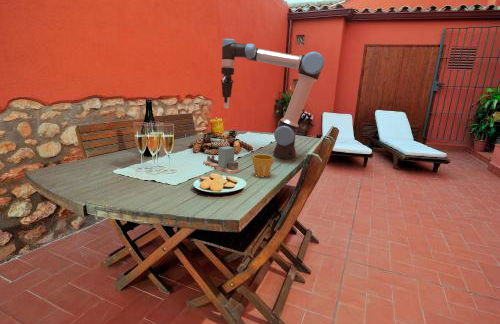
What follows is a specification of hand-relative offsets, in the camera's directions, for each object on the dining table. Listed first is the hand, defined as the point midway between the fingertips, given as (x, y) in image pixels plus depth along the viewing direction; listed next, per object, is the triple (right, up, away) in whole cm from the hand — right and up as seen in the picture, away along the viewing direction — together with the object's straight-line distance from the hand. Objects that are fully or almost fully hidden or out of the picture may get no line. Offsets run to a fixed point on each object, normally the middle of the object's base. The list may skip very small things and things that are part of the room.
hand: (226, 108), depth 173 cm
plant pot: (+20, -40, -30) cm, 54 cm away
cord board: (-1, -36, -22) cm, 42 cm away
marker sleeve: (+2, -35, -24) cm, 43 cm away
